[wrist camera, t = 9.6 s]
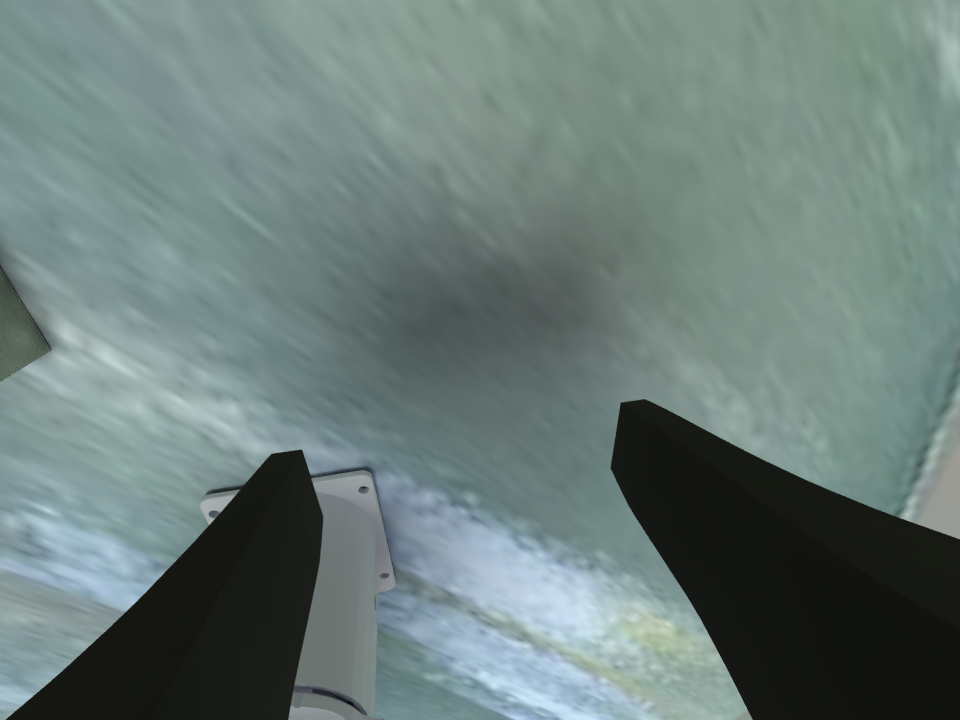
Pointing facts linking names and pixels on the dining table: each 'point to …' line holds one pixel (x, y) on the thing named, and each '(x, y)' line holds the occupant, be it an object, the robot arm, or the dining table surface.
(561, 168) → the dining table surface
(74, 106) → the dining table surface
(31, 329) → the silver square open block
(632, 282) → the dining table surface
